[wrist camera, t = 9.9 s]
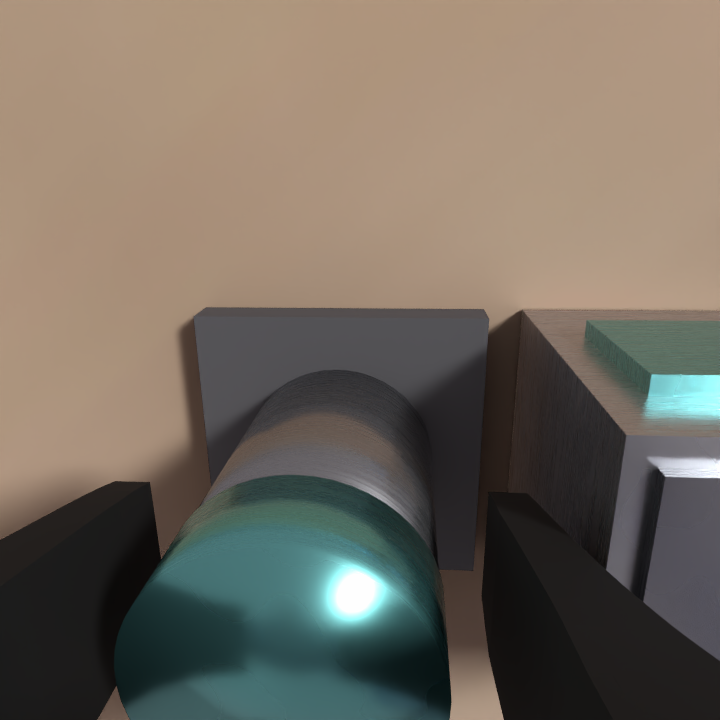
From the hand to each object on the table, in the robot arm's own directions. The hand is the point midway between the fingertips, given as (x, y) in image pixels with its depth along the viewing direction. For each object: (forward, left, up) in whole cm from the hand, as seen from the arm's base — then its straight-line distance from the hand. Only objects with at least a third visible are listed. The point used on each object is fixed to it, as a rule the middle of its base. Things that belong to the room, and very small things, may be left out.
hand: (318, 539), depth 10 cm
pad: (0, 0, -4) cm, 4 cm away
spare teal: (0, 0, -3) cm, 3 cm away
